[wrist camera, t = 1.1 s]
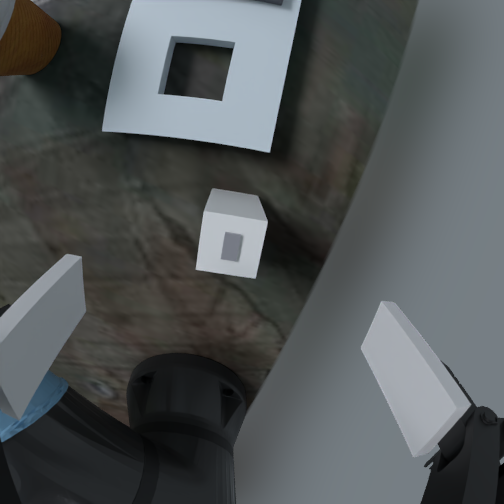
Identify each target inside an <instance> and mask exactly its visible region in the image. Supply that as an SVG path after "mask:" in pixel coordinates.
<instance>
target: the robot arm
mask: <svg viewBox="0 0 504 504" xmlns="http://www.w3.org/2000/svg"><path fill="white" fill-rule="evenodd" d="M85 312H86V306H85V297H84V286H83V272H82V257H80V256H75V255H70V254H66V255H65V256H64V257H63V258H62V259H60V260H59V261H58V262H57V263H56V264H55V265H54V266H53V267H51V268H50V269H49V270H48V271H47V272H46V273H45V274H44V275H43V276H42V277H41V278H39V279H38V280H37V281H36V282H35V283H34V284H33V285H32V286H31V287H30V288H29V289H28V290H27V291H26V292H25V293H24V294H23V295H22V296H21V297H20V298H19V299H18V300H17V301H16V302H15V303H14V304H13V305H9V304H8V305H6V306H4V307H2V308H0V504H236V497H235V478H234V461H233V446H234V444H235V441H236V438H237V436H238V433H239V431H240V428H241V425H242V423H243V420H244V417H245V414H246V408H247V405H246V392H245V388H244V386H243V384H242V382H241V381H240V379H239V378H238V377H237V376H236V375H235V374H234V373H233V372H232V371H231V370H229V369H228V368H226V367H225V366H223V365H221V364H219V363H217V362H215V361H213V360H210V359H207V358H204V357H201V356H196V355H191V354H182V353H170V354H162V355H157V356H154V357H151V358H148V359H146V360H144V361H143V362H141V363H140V364H139V365H138V366H137V367H136V368H135V369H134V371H133V372H132V374H131V377H130V380H129V383H128V387H127V394H126V395H127V406H128V415H129V423H130V427H128V426H126V425H125V424H123V423H121V422H120V421H118V420H117V419H115V418H114V417H112V416H110V415H109V414H107V413H106V412H104V411H103V410H101V409H100V408H99V407H97V406H96V405H94V404H93V403H91V402H90V401H89V400H87V399H86V398H84V397H83V396H82V395H80V394H79V393H78V392H76V391H75V390H74V389H72V388H71V387H70V386H68V382H67V381H66V380H65V379H63V378H60V377H57V376H56V375H55V374H53V373H52V372H51V371H49V370H48V369H49V368H50V366H51V364H52V363H53V361H54V359H55V358H56V356H57V355H58V353H59V351H60V350H61V348H62V347H63V345H64V344H65V342H66V341H67V339H68V338H69V336H70V335H71V333H72V331H73V330H74V329H75V327H76V326H77V324H78V323H79V321H80V320H81V318H82V317H83V315H84V314H85ZM361 350H362V352H363V354H364V356H365V358H366V360H367V362H368V364H369V366H370V368H371V370H372V372H373V374H374V376H375V378H376V380H377V382H378V384H379V386H380V388H381V390H382V392H383V394H384V396H385V397H386V400H387V402H388V404H389V406H390V408H391V410H392V412H393V415H394V417H395V419H396V421H397V423H398V425H399V427H400V429H401V432H402V434H403V436H404V438H405V440H406V443H407V445H408V447H409V449H410V451H411V454H412V456H413V457H416V456H420V455H424V454H427V453H429V452H430V451H431V450H432V449H433V448H434V447H435V446H436V445H437V444H438V445H439V447H440V450H439V451H438V452H437V453H436V454H435V455H434V456H433V457H432V458H431V459H430V460H429V461H427V462H426V464H425V465H424V467H427V466H428V465H429V464H430V463H431V462H433V465H432V466H431V467H430V468H429V469H431V473H430V476H429V480H428V483H427V486H426V489H425V492H424V495H423V498H422V501H421V504H504V463H503V464H502V465H500V461H499V460H500V459H501V458H502V457H504V418H498V417H497V415H496V414H495V413H494V412H493V411H492V410H491V409H489V408H488V407H484V406H481V407H478V408H477V407H476V405H475V404H474V403H473V401H472V400H471V398H470V397H469V395H468V394H467V393H466V391H465V389H464V388H463V387H462V385H461V384H459V381H458V380H457V378H456V377H454V374H453V373H452V371H451V370H450V369H449V367H448V366H447V365H445V364H444V363H443V362H442V361H441V360H440V359H439V358H438V357H437V356H436V354H435V353H434V352H433V350H432V349H431V348H430V346H429V345H428V344H427V342H426V341H425V340H424V338H423V337H422V336H421V335H420V333H419V332H418V331H417V330H416V328H415V327H414V326H413V324H412V323H411V322H410V321H409V320H408V318H407V317H406V316H405V315H404V313H403V312H402V311H401V310H400V308H399V307H398V306H397V305H396V304H395V302H388V301H381V303H380V306H379V308H378V310H377V312H376V315H375V317H374V319H373V322H372V324H371V326H370V329H369V331H368V333H367V335H366V337H365V339H364V342H363V344H362V346H361Z"/></svg>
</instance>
